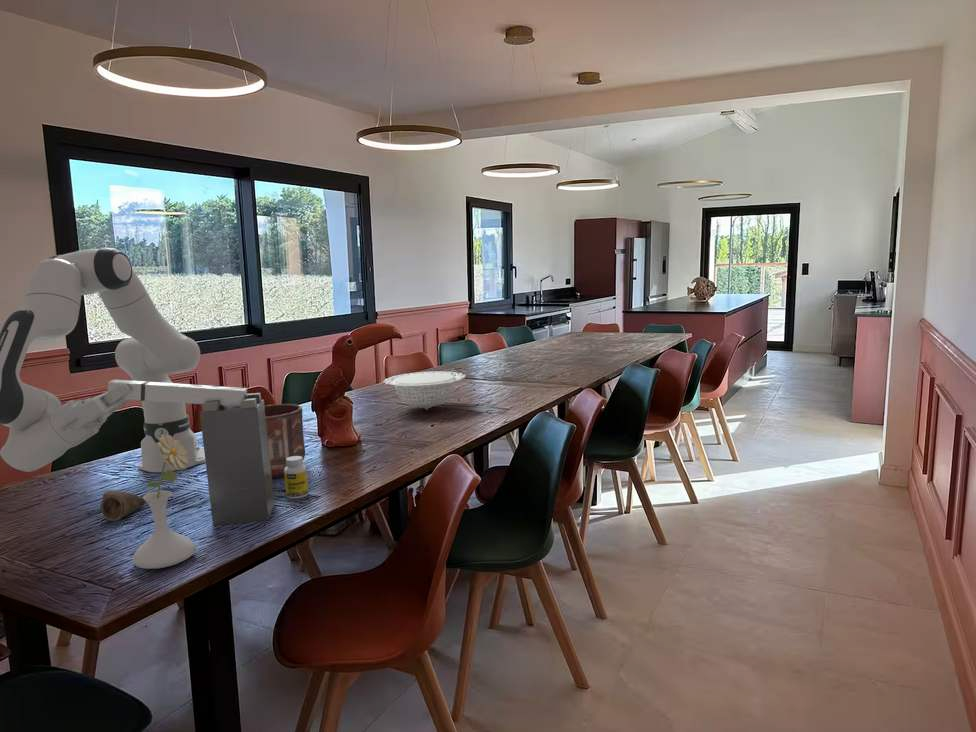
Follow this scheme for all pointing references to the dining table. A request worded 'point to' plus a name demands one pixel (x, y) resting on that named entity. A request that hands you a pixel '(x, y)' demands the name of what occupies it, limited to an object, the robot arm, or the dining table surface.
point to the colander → (425, 386)
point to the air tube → (179, 392)
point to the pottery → (284, 435)
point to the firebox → (237, 461)
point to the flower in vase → (164, 516)
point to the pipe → (119, 504)
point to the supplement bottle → (295, 478)
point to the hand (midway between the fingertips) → (132, 385)
